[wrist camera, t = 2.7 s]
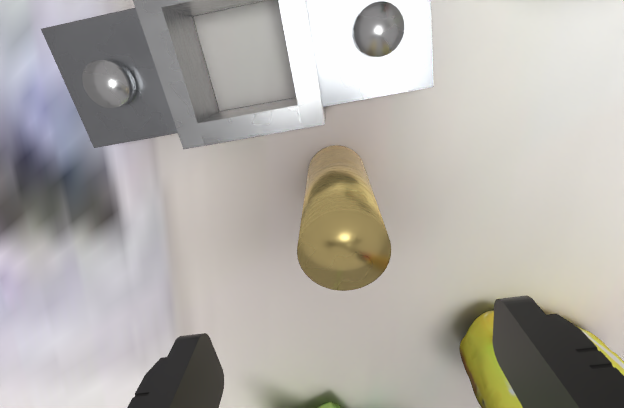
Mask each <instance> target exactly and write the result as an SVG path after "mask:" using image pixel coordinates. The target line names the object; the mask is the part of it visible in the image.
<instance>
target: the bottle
mask: <svg viewBox="0 0 624 408" xmlns="http://www.w3.org/2000/svg"><path fill="white" fill-rule="evenodd" d="M493 320H494V311H487V312H485V313H483V314H482V315H480V316H479V317H478V318H477V319H475V320H474V322H473V323H472V324H471V326H470V328H469V330H468V331H467V333H466V335H465V337H464V338H463V339H462V340H461V343H460V354H461V358H462V361H463V364H464V367H465V370H466V372H467V374H468V376H469V378H470V381H471V384H472V387H473V391H474V394H475V396H476V398H477V401H478V402H479V404H480V406H481V407H482V408H523V407H522V405H521V403H520V401H519V400H518V398H517V396H516V394H515V393H514V391H513V389H512V387H511V386H510V384H509V382H508V380H507V378H506V377H505V375H504V373H503V371H502V370H501V368H500V366H499V364H498V362H497V359H496V356H495V353H494V349H493V342H492V339H493ZM577 327H578V326H577ZM578 328H580V327H578ZM580 329H581V328H580ZM581 330H582V332H583V333H584V334H585V335H586V336H587V337H588V338H589V339H590V340H591V341H592V342H593V343H594V344H595V345H596V347H597V349H598V351H601V352H602V353H603V354H604V355H605V356H606V357H607V358H608V359H609V361H610V362H611V363H612V366H613V367H614V368H615V367H616V368H617V369H618V370H619V371H620V372H621V373H622V374H623V376H624V361H623V360H622V359H621V358H620V357H619V356H618V355H617V354H616V353H614V352H612V351H611V350H610V349H609V348H608V347H607V346H606V345H605V344H604V343H603V342H602V341H601V340H600V339H599V338H597V337H596V336H595V335H593V334H592V333H590V332H588V331H586V330H583V329H581Z"/></svg>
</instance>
